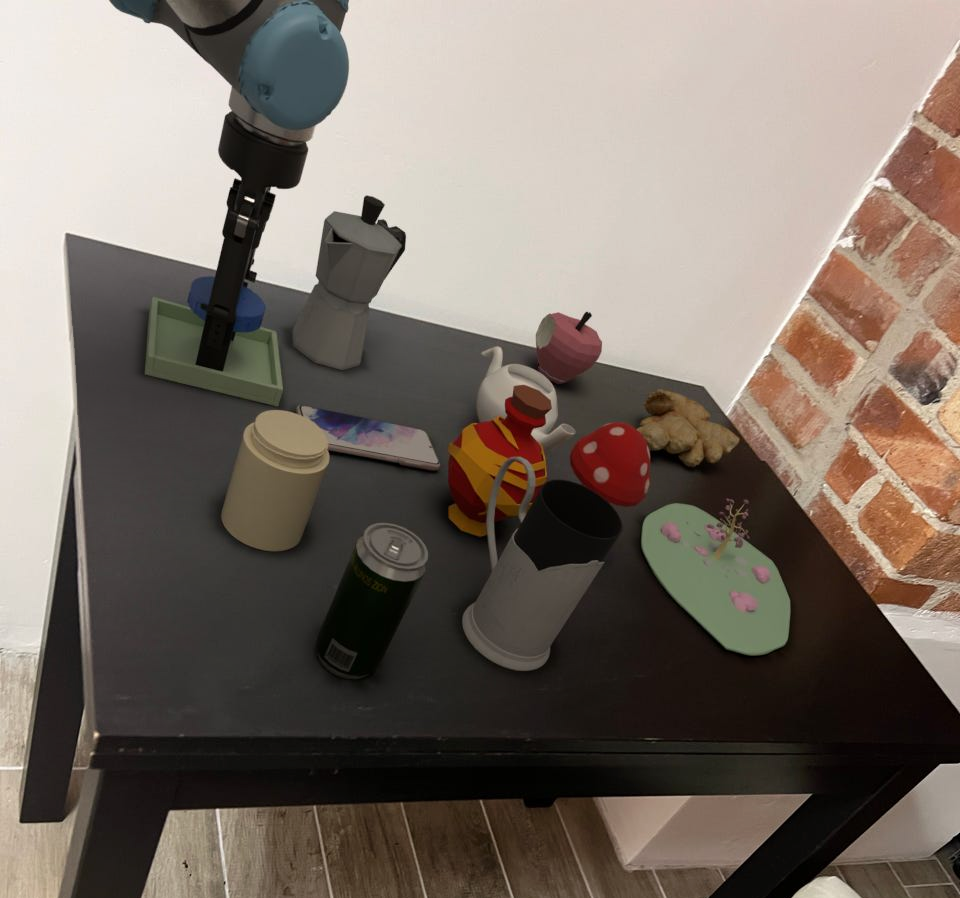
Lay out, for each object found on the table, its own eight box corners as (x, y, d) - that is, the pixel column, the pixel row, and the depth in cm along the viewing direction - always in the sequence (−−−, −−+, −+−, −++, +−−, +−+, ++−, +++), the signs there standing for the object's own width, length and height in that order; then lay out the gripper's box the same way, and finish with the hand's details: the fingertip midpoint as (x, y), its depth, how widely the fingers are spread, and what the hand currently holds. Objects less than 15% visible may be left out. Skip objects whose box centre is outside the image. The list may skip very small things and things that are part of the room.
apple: (519, 351, 130) (549, 287, 124) (572, 370, 133) (604, 308, 127) (528, 385, 123) (561, 319, 117) (584, 404, 126) (619, 341, 120)
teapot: (494, 400, 116) (525, 336, 110) (567, 502, 105) (605, 436, 99) (430, 392, 110) (459, 323, 105) (500, 498, 99) (536, 428, 94)
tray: (144, 374, 89) (148, 355, 88) (148, 314, 97) (152, 296, 96) (278, 407, 94) (283, 389, 93) (271, 347, 102) (276, 331, 101)
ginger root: (707, 424, 136) (738, 385, 130) (716, 502, 127) (750, 465, 121) (614, 390, 132) (641, 348, 125) (616, 469, 123) (646, 428, 117)
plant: (834, 672, 102) (888, 616, 97) (688, 648, 94) (737, 585, 88) (746, 530, 119) (788, 476, 113) (614, 499, 110) (652, 438, 105)
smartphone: (296, 402, 95) (426, 429, 102) (293, 410, 95) (424, 436, 102) (307, 441, 90) (443, 466, 97) (304, 449, 91) (439, 473, 98)
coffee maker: (319, 379, 102) (370, 224, 91) (262, 336, 103) (305, 179, 92) (395, 357, 113) (448, 217, 102) (342, 318, 115) (389, 176, 104)
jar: (221, 543, 76) (249, 447, 70) (220, 490, 81) (245, 396, 75) (305, 557, 79) (338, 467, 73) (299, 506, 84) (330, 417, 78)
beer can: (368, 692, 71) (422, 581, 64) (304, 664, 70) (351, 549, 63) (385, 649, 75) (437, 541, 68) (324, 623, 74) (371, 510, 67)
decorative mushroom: (523, 507, 100) (585, 391, 91) (591, 527, 103) (659, 417, 94) (535, 564, 93) (604, 445, 84) (608, 585, 96) (683, 472, 87)
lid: (265, 310, 96) (270, 295, 95) (256, 341, 91) (260, 325, 90) (195, 284, 94) (198, 268, 93) (181, 314, 88) (184, 297, 87)
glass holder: (493, 677, 78) (572, 547, 69) (417, 564, 85) (480, 433, 76) (566, 663, 84) (648, 541, 74) (489, 559, 90) (556, 435, 81)
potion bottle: (410, 483, 94) (466, 357, 85) (493, 492, 100) (554, 374, 91) (445, 552, 88) (509, 424, 79) (531, 557, 94) (600, 438, 85)
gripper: (242, 81, 87) (196, 299, 101) (207, 142, 72) (158, 386, 87) (319, 114, 89) (262, 323, 104) (299, 180, 75) (236, 412, 89)
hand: (215, 352), depth 95 cm, fingers closed on lid, 7 cm apart
